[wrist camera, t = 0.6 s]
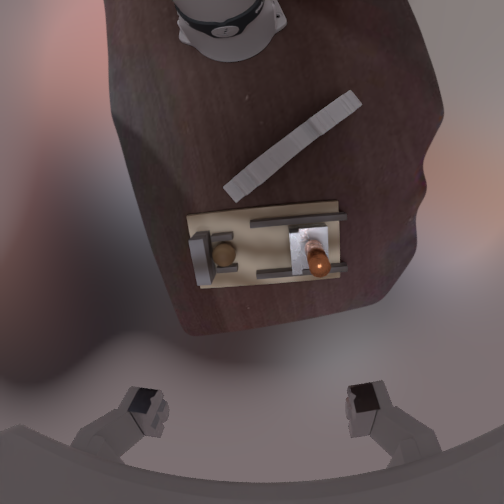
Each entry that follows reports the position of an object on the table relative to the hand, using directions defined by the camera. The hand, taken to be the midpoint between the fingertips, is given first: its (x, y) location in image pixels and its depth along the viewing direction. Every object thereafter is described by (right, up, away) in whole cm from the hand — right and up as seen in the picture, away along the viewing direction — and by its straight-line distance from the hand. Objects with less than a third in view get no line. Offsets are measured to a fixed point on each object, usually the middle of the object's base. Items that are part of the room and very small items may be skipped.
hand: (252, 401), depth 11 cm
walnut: (-5, +6, +38) cm, 39 cm away
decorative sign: (+6, +24, +34) cm, 42 cm away
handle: (+10, +8, +38) cm, 40 cm away
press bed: (+2, +8, +40) cm, 41 cm away
